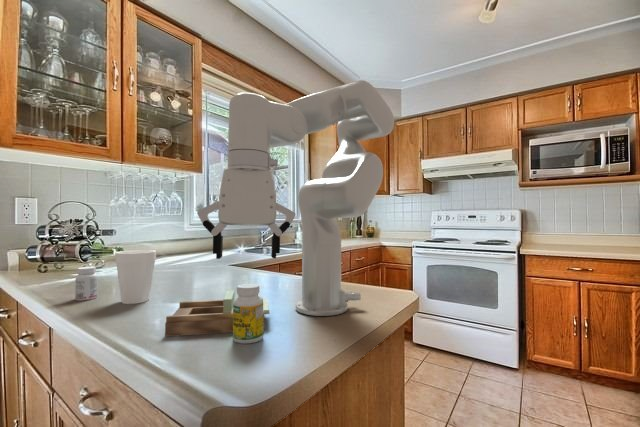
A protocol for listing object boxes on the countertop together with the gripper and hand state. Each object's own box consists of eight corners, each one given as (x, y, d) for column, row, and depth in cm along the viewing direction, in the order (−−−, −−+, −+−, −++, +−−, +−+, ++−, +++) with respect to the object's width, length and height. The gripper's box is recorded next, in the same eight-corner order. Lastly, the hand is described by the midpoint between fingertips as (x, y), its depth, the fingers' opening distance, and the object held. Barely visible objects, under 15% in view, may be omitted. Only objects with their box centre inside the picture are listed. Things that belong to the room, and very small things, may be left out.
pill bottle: (95, 295, 88) (95, 265, 88) (98, 298, 85) (99, 267, 85) (73, 298, 85) (74, 267, 85) (76, 301, 81) (77, 269, 82)
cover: (267, 302, 71) (267, 288, 72) (269, 313, 63) (269, 298, 63) (227, 304, 70) (227, 290, 70) (222, 316, 61) (223, 300, 61)
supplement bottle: (268, 335, 58) (269, 284, 58) (252, 346, 53) (252, 289, 53) (244, 331, 60) (244, 281, 60) (226, 341, 55) (226, 287, 55)
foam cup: (108, 301, 82) (109, 252, 82) (144, 294, 89) (145, 249, 89) (124, 307, 76) (125, 254, 76) (162, 299, 84) (162, 251, 84)
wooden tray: (262, 312, 73) (263, 297, 73) (264, 329, 61) (264, 312, 61) (180, 316, 69) (180, 301, 69) (165, 336, 57) (165, 317, 57)
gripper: (293, 170, 62) (292, 255, 62) (202, 165, 59) (200, 256, 58) (298, 162, 55) (297, 259, 54) (195, 157, 52) (192, 260, 51)
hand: (246, 257), depth 56 cm, fingers open, 9 cm apart
